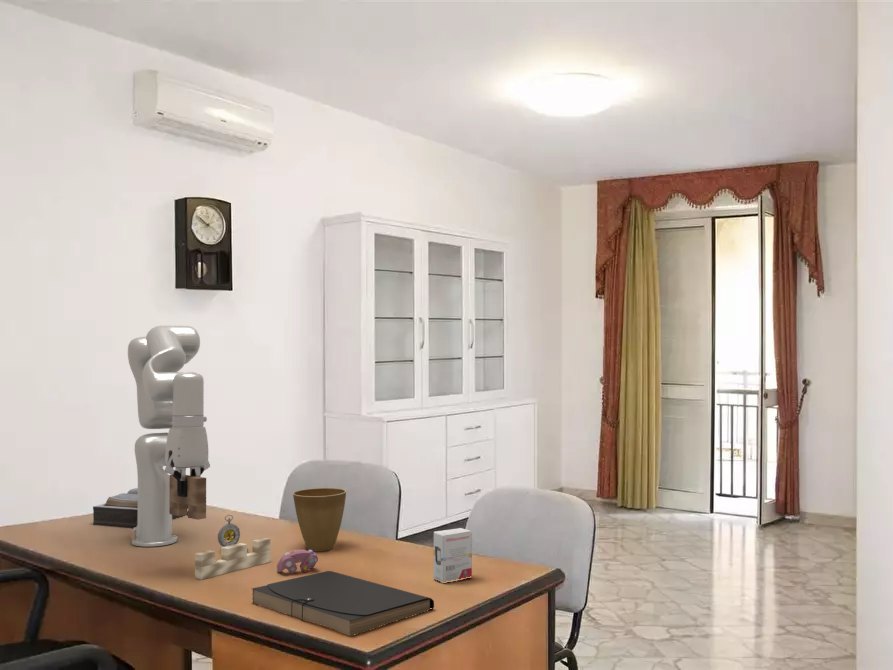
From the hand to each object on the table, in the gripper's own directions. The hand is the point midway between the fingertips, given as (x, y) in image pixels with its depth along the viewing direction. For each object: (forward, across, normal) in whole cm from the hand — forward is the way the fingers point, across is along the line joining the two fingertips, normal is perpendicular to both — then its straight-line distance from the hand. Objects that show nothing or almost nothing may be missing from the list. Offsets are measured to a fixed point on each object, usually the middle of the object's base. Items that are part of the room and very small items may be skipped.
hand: (187, 494), depth 214 cm
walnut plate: (+5, 0, 0) cm, 5 cm away
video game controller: (+20, -18, +21) cm, 34 cm away
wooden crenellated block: (+19, -9, +7) cm, 22 cm away
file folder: (+20, -4, +51) cm, 55 cm away
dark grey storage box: (+20, -31, -69) cm, 78 cm away
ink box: (+20, -36, +56) cm, 70 cm away
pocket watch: (+20, -21, -8) cm, 30 cm away
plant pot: (+20, -39, +7) cm, 44 cm away
